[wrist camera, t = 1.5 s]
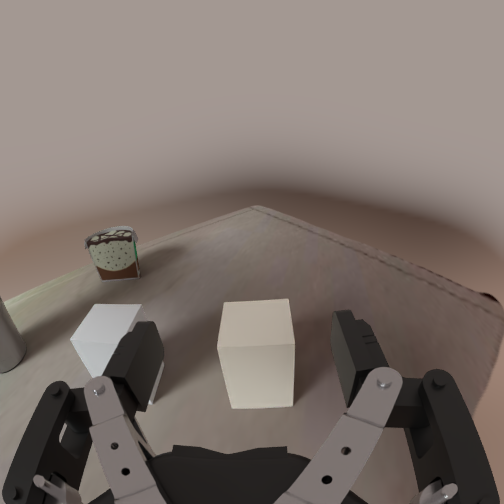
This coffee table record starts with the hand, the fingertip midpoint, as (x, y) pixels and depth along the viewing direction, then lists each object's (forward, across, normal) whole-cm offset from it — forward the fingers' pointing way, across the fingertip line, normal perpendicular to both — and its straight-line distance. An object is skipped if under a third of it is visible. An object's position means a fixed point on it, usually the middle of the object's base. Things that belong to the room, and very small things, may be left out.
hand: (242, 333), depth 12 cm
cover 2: (+12, 0, +18) cm, 22 cm away
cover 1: (+12, +16, +18) cm, 27 cm away
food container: (+41, +30, +17) cm, 53 cm away
